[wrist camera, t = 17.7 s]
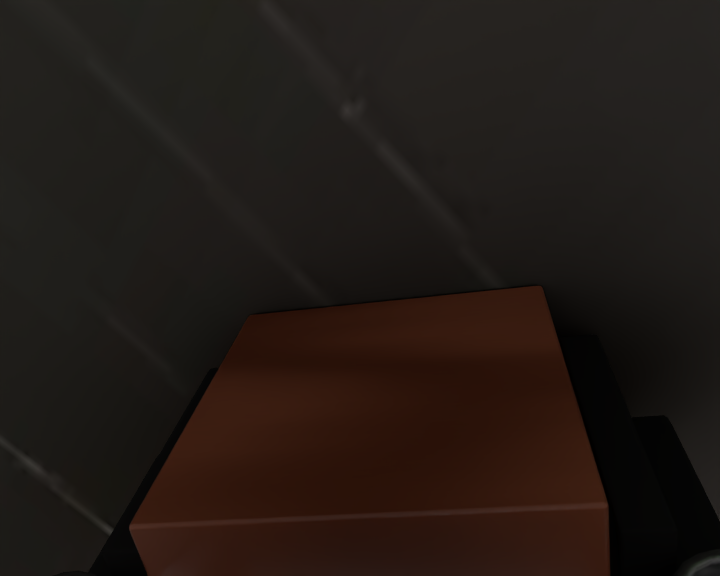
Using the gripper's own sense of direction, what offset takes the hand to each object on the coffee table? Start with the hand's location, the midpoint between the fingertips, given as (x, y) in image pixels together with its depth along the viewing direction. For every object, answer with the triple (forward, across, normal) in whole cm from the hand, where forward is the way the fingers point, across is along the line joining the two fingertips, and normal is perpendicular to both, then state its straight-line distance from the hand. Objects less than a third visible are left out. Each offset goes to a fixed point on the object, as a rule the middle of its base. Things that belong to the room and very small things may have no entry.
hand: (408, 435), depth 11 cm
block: (0, 0, 0) cm, 0 cm away
